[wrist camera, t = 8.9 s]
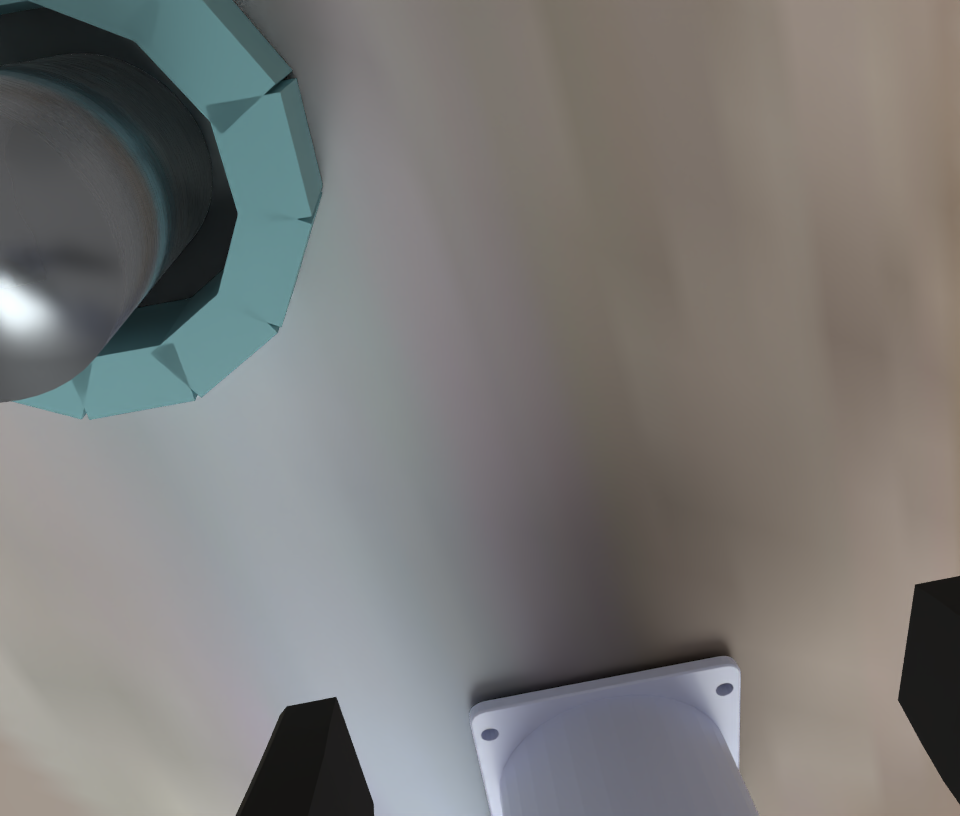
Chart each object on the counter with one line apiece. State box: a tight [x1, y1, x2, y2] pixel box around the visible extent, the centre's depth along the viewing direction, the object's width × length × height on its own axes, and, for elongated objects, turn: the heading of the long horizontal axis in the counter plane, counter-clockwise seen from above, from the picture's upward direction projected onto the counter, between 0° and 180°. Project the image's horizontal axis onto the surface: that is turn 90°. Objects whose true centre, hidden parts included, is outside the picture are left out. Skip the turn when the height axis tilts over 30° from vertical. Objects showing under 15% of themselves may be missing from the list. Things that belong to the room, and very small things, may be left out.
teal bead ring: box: [0, 0, 323, 420], centre depth 14 cm, size 8×8×2 cm
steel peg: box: [0, 53, 213, 402], centre depth 12 cm, size 4×4×6 cm
